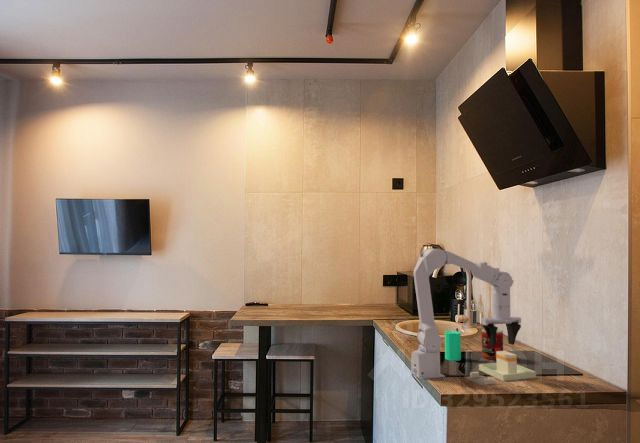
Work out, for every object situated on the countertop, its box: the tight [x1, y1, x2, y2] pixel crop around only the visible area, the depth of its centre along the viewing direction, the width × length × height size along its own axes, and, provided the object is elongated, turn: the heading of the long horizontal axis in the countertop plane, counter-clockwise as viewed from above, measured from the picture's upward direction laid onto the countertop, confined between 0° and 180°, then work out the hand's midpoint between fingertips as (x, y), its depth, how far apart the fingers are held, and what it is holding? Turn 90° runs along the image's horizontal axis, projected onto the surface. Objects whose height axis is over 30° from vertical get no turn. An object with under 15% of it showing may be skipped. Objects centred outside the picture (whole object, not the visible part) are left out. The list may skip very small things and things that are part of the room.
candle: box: [444, 328, 462, 362], centre depth 176 cm, size 6×6×12 cm
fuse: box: [495, 350, 518, 374], centre depth 155 cm, size 4×6×7 cm, turn 16°
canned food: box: [481, 328, 504, 361], centre depth 178 cm, size 8×8×11 cm
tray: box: [478, 362, 537, 382], centre depth 155 cm, size 13×13×2 cm
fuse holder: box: [464, 371, 500, 387], centre depth 147 cm, size 7×9×2 cm
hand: (502, 344), depth 156 cm, fingers open, 7 cm apart
